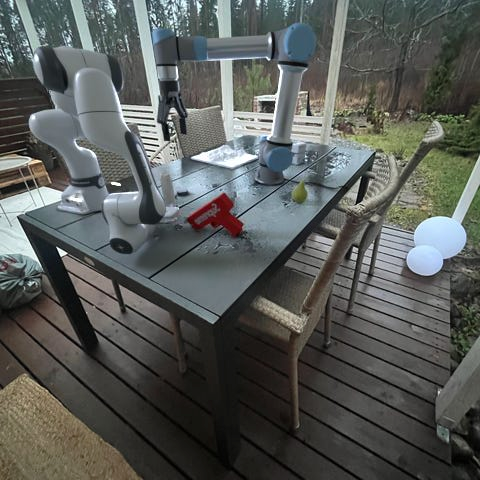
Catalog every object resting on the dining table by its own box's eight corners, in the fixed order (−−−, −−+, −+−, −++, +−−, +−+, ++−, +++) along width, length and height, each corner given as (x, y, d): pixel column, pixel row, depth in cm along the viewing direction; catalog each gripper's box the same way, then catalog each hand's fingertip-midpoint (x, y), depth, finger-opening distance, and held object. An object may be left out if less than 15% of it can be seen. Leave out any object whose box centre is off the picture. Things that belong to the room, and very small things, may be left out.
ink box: (298, 160, 174) (300, 141, 168) (304, 162, 171) (307, 142, 165) (290, 163, 169) (292, 143, 163) (296, 165, 166) (299, 145, 160)
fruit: (288, 200, 123) (290, 174, 116) (302, 197, 125) (305, 172, 119) (296, 206, 118) (299, 179, 111) (310, 203, 120) (314, 177, 114)
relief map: (233, 169, 161) (232, 160, 158) (191, 159, 178) (190, 151, 176) (258, 158, 179) (258, 150, 176) (218, 150, 197) (217, 142, 194)
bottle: (163, 210, 115) (156, 174, 107) (170, 206, 119) (164, 171, 110) (171, 213, 113) (165, 176, 105) (178, 208, 117) (173, 173, 108)
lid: (190, 194, 129) (190, 190, 128) (180, 197, 127) (179, 193, 125) (185, 191, 133) (184, 187, 132) (175, 194, 130) (174, 189, 129)
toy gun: (250, 225, 97) (225, 191, 93) (246, 231, 93) (220, 196, 89) (215, 244, 107) (191, 214, 103) (210, 250, 103) (185, 219, 99)
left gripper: (171, 215, 90) (185, 198, 101) (114, 211, 92) (133, 195, 104) (174, 231, 93) (186, 213, 105) (119, 227, 96) (137, 210, 107)
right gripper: (176, 78, 115) (182, 131, 127) (140, 81, 95) (151, 143, 107) (192, 78, 113) (197, 132, 124) (158, 81, 93) (167, 144, 105)
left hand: (160, 204), depth 104 cm, fingers open, 8 cm apart
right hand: (176, 137), depth 116 cm, fingers open, 13 cm apart
